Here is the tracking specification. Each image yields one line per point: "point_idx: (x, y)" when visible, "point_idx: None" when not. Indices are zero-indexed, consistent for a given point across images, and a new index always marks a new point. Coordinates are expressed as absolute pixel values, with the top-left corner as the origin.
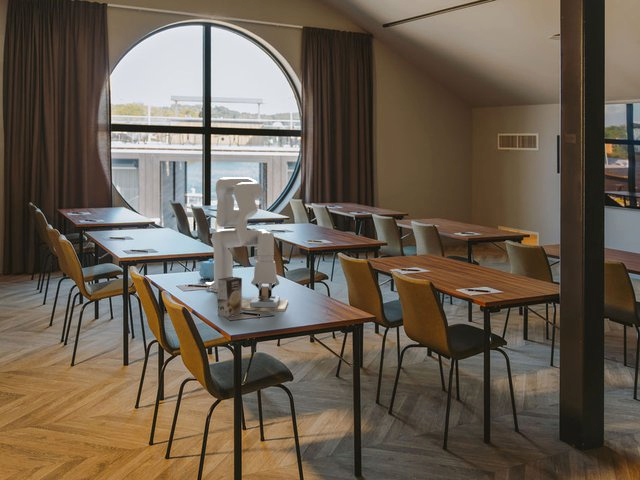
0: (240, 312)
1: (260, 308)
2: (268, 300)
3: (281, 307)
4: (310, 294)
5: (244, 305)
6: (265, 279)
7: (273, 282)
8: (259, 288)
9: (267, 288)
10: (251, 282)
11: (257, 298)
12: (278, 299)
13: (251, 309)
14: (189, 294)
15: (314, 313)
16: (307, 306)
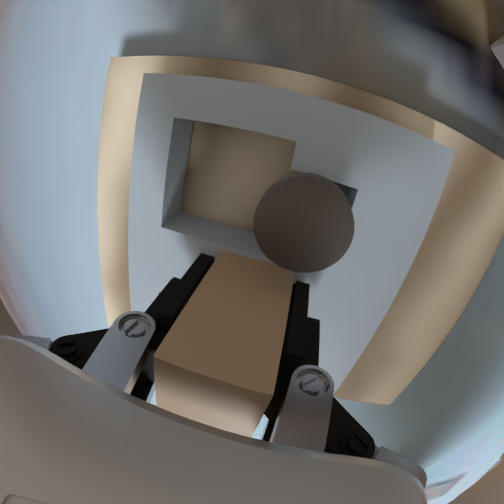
0: (500, 39)
1: (333, 82)
2: (220, 240)
3: (128, 102)
4: None
5: (453, 244)
6: (118, 500)
7: (3, 343)
8: (313, 385)
9: (176, 343)
10: (423, 483)
11: (326, 328)
12: (132, 272)
13: (417, 114)
14: (477, 458)
15: (12, 48)
16: (26, 211)
